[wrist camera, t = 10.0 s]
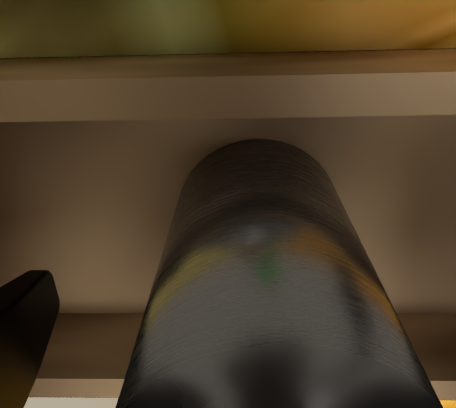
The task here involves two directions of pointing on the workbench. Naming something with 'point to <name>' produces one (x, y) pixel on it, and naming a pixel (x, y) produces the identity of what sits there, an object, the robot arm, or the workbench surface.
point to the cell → (269, 297)
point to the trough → (192, 154)
